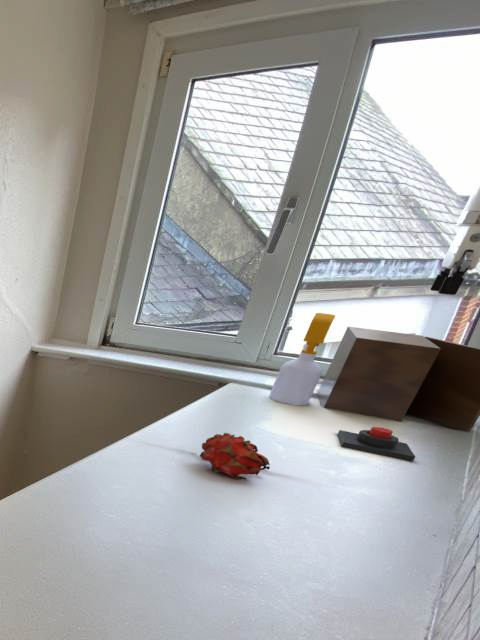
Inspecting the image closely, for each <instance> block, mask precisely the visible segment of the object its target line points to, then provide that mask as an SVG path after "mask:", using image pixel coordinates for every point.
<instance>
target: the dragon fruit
mask: <svg viewBox="0 0 480 640" xmlns="http://www.w3.org/2000/svg"><path fill="white" fill-rule="evenodd" d="M201 449H202V450H203V451H201V452H200V454H199V458H201V460H203V461H206V462H207V461H208V462H209V463H210V465H211V469H212V470H213V472H214V473H219V472H222V473H223V474H226V475H228V476H230V477H232V479H234V480H240V481H241V480H242V481H243V480H244V481H245V480H248V478H247V477H245V476H246V475H255V476H258V475H259V474H260V472H261V471H263V470H270V467H271V466H270V465H271V463H270V462H269V459H268V457H266V456H264V455H263V454H260V453H259V452H258V451H259V449H258V446H257V445H256V444H254V443H252V442H251V440H249V439H247V440H246V439H245V437H243V436H241V435H239V436H235V434H230V433H229V432H223V433H222V434H219V433H216V434H214V436H212V437H211V436H210V437H208V438H207V439H206V440H205V442H202V443H201ZM240 475H245V476H240Z"/></svg>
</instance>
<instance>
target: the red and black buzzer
mask: <svg viewBox="0 0 480 640" xmlns="http://www.w3.org/2000/svg"><path fill="white" fill-rule="evenodd" d="M370 430H371V429H362V430H359V432H353V431H347V430H342V429H339V430H338V433H337V434H336V436H337V438H338V443H339V445H340V447H341V448H343V449H349V450H354V451H358V452H363V453H369V454H372V455H377V456H383V457H387V458H390V459H391V458H392V459H395V460H396V459H397V460H401V461H405V462H410V463H413V462H414V460H415V458H416V455H415V453H414V452H413V450H412V449H411V448H410V446H409V445H408V443H407V442H403V441H400V439H399V438H398V437H397V436H395V435H393V434H392V435H391V437H390V439H384V438H379V437H375V436H372V435H370V434H369V432H370Z"/></svg>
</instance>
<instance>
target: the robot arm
mask: <svg viewBox="0 0 480 640" xmlns="http://www.w3.org/2000/svg"><path fill="white" fill-rule="evenodd" d="M455 227H460V228H459V229H458V230H457V231H458V232H457V233H456V234H455V237H454V239H453V240H452V242H451V244H450V246H449V247H448V250H447V252H446V254H445V256H444V258H443V260H442V263H441V266H442V267H441V268H440V270H439V272H438V274H437V275H436V277H435V279H434V281H433V283H432V285H431V287H430V288H429V290H430V291H432V292H438V294H440V295H448V296H449V295H450V296H451V295H452V296H455V295H456V294H457V293H458V291H459V290H460V287H461V285H462V284H463V282H464V280H465V278H466V276H467V273H468V271H473V270H475V269H476V268H477V266H478V264H479V262H480V178H478V180H477V182H476V184H475V187H474V189H473V190H472V192H471V194H470V196H469V198H468V200H467V203H466V205H464V208H463V210H462V212H461V214H460V216H459V218H458V220H457V222H456V224H455Z"/></svg>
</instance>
